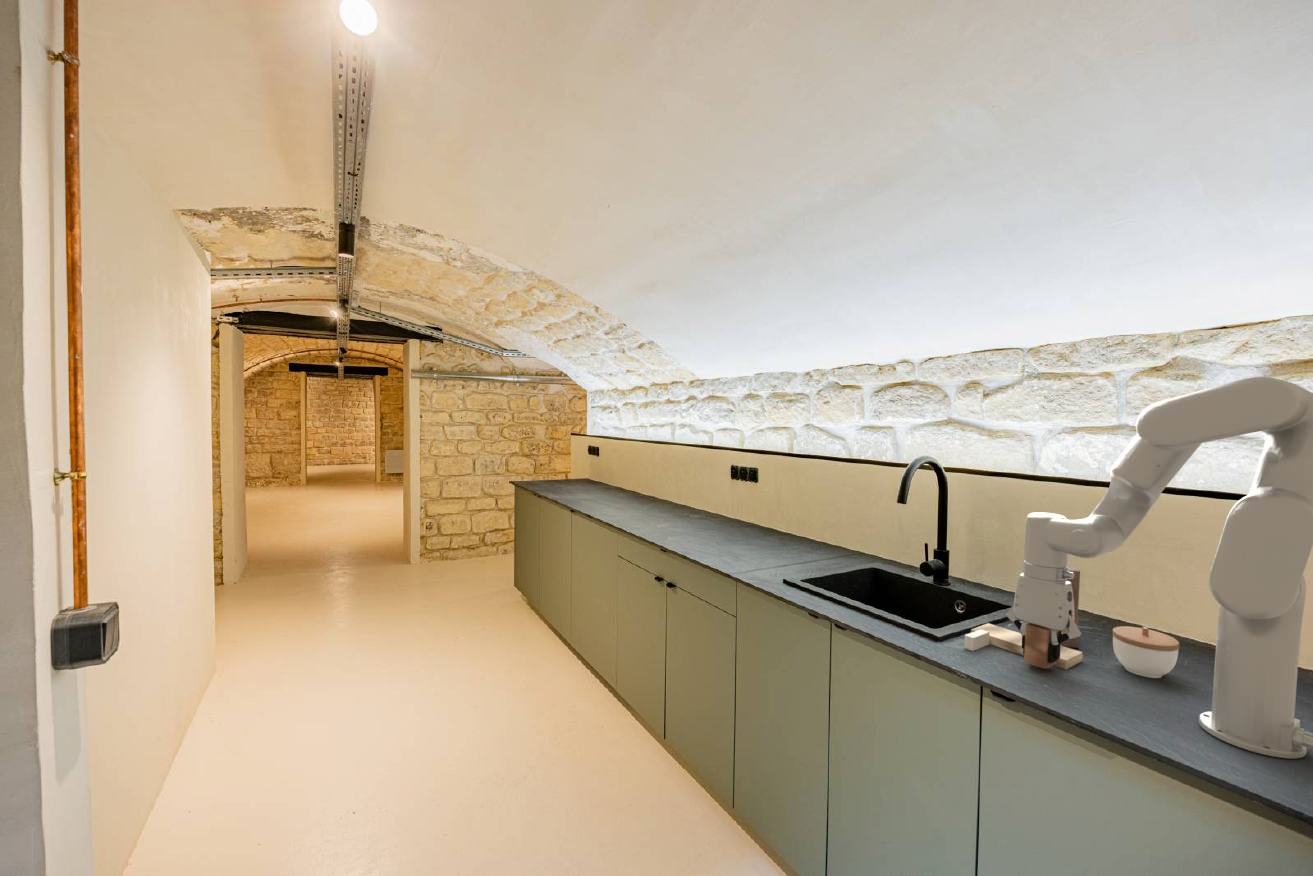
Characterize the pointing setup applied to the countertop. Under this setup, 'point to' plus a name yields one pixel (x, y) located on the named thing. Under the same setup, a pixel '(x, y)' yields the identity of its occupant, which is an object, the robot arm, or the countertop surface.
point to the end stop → (976, 640)
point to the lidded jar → (1145, 651)
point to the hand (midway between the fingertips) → (1040, 656)
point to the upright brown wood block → (1037, 645)
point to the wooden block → (1075, 588)
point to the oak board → (1014, 643)
